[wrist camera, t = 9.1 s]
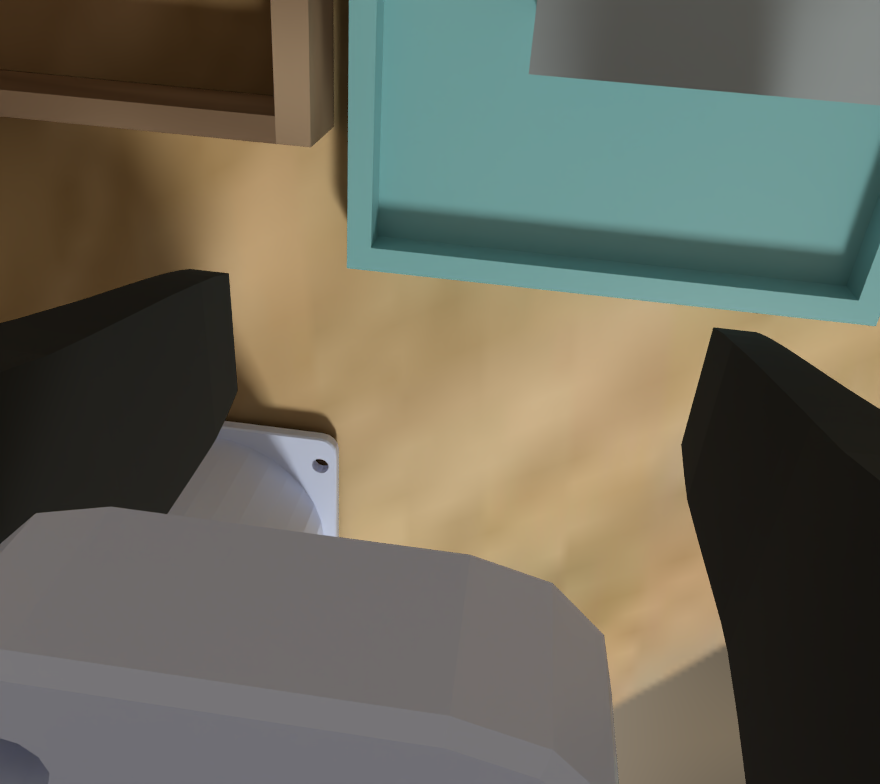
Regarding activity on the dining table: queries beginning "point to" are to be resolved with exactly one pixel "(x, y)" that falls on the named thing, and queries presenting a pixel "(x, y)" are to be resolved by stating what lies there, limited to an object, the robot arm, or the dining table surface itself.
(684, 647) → the dining table surface
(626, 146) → the tray
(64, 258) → the dining table surface
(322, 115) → the rack
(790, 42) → the slate gray block
